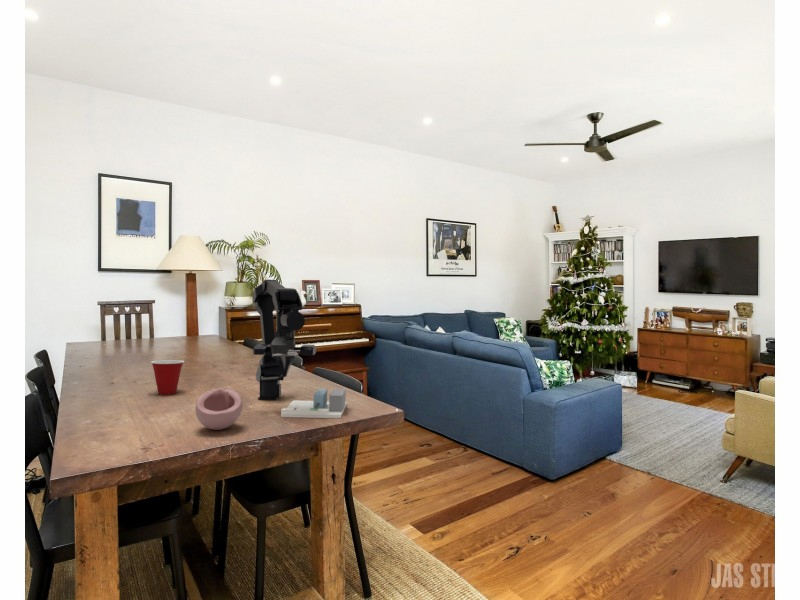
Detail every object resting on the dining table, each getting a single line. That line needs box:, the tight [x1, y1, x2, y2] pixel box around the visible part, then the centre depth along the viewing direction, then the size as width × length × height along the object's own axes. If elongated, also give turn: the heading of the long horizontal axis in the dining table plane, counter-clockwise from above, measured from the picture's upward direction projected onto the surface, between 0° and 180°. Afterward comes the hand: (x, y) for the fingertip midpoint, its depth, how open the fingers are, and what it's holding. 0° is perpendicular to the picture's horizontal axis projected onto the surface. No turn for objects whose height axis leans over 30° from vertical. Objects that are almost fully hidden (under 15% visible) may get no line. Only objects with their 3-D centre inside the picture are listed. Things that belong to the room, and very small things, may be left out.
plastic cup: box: [150, 359, 185, 396], centre depth 164 cm, size 11×11×12 cm
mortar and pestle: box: [194, 387, 243, 431], centre depth 125 cm, size 12×12×11 cm
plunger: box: [313, 388, 328, 409], centre depth 143 cm, size 3×12×5 cm, turn 0°
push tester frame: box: [280, 388, 348, 419], centre depth 145 cm, size 18×16×6 cm
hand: (284, 376), depth 145 cm, fingers closed
